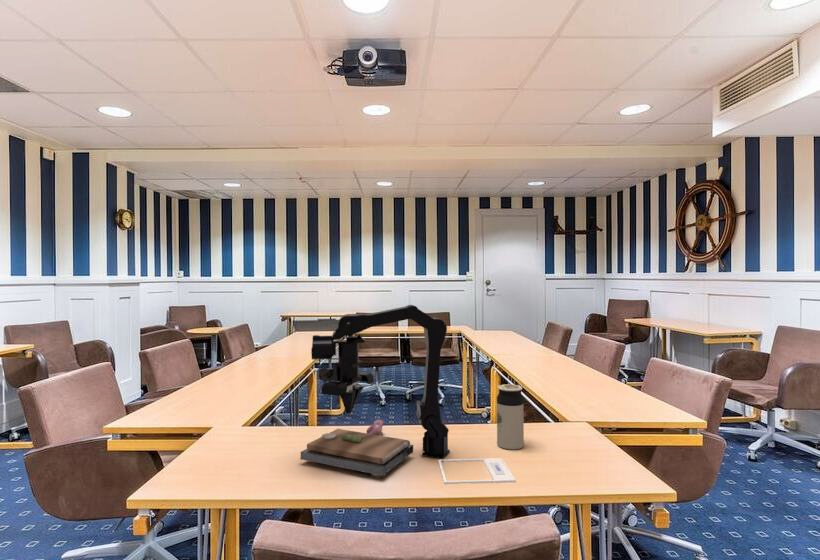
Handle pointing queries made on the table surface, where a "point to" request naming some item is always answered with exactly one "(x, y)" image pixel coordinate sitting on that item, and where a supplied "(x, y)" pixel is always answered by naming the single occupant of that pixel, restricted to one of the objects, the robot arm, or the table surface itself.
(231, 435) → the table surface
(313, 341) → the robot arm
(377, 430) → the purple lumpy shape
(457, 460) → the photo frame
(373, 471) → the dark grey flat box
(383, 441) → the plate
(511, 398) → the travel mug
